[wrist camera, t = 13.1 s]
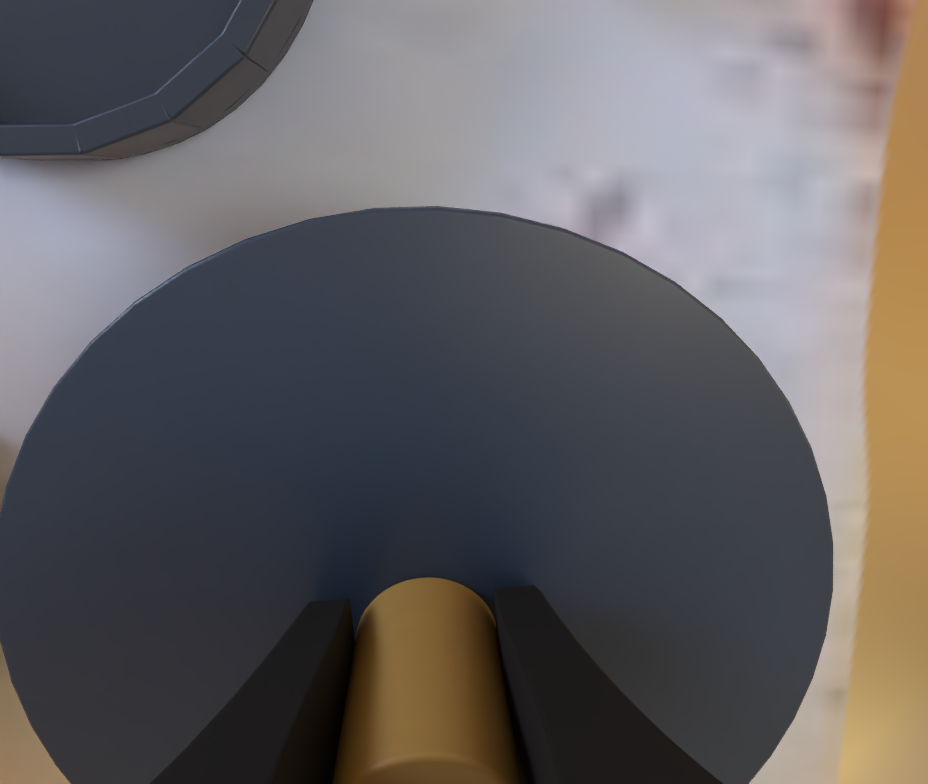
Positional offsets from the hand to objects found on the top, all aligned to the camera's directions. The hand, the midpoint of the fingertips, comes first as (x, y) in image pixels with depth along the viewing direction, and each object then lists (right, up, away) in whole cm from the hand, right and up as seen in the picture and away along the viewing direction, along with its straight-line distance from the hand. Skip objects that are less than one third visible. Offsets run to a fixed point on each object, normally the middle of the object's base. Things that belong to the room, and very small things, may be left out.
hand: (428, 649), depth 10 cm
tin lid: (0, 0, +1) cm, 1 cm away
